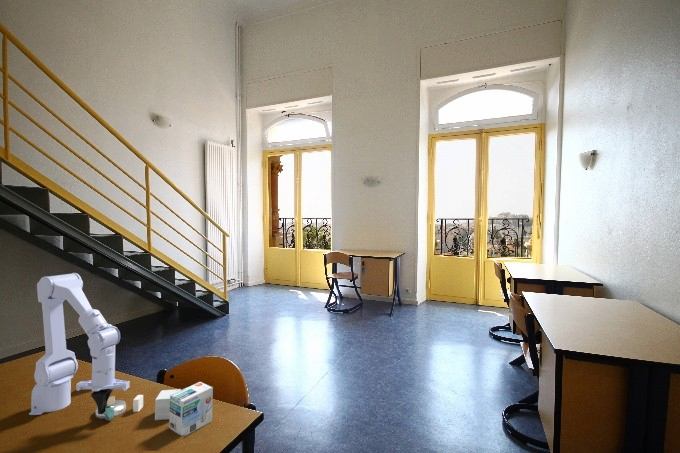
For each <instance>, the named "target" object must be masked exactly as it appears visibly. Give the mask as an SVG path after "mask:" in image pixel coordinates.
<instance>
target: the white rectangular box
mask: <svg viewBox="0 0 680 453" xmlns="http://www.w3.org/2000/svg"><path fill="white" fill-rule="evenodd" d="M132 401H133V402H132V407H133V408H132V412H133V413H137V412H140V410H142V409H143V407H144V394H137V395H136V396H135V397H134V398H133V400H132Z"/></svg>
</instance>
